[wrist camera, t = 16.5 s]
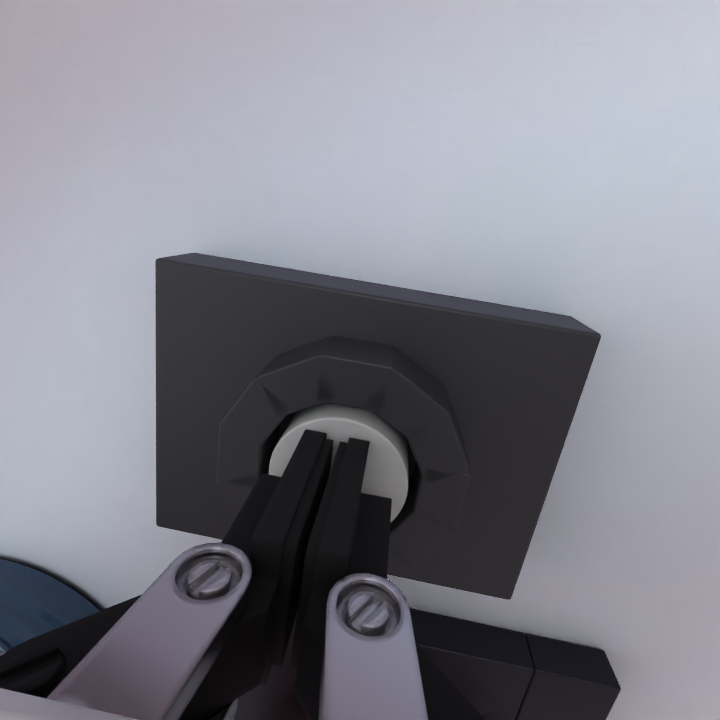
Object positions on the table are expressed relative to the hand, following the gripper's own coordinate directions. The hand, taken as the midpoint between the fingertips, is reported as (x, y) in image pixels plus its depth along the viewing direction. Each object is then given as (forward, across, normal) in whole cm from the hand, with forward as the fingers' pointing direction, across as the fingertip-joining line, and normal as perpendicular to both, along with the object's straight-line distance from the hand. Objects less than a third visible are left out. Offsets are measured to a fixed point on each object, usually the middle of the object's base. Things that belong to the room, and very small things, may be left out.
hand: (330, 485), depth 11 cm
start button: (+2, 0, 0) cm, 2 cm away
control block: (+4, 0, 0) cm, 4 cm away
